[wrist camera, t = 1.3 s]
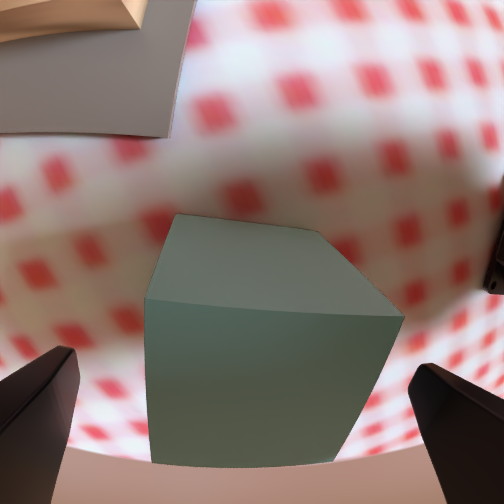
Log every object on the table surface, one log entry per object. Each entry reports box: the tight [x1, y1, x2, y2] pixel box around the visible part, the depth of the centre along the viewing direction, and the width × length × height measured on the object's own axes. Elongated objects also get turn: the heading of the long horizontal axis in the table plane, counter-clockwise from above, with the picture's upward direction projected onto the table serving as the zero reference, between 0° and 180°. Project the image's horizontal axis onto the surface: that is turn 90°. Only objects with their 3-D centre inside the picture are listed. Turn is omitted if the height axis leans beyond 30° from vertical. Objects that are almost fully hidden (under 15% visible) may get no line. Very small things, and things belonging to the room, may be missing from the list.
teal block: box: [144, 214, 405, 468], centre depth 9 cm, size 5×5×6 cm
